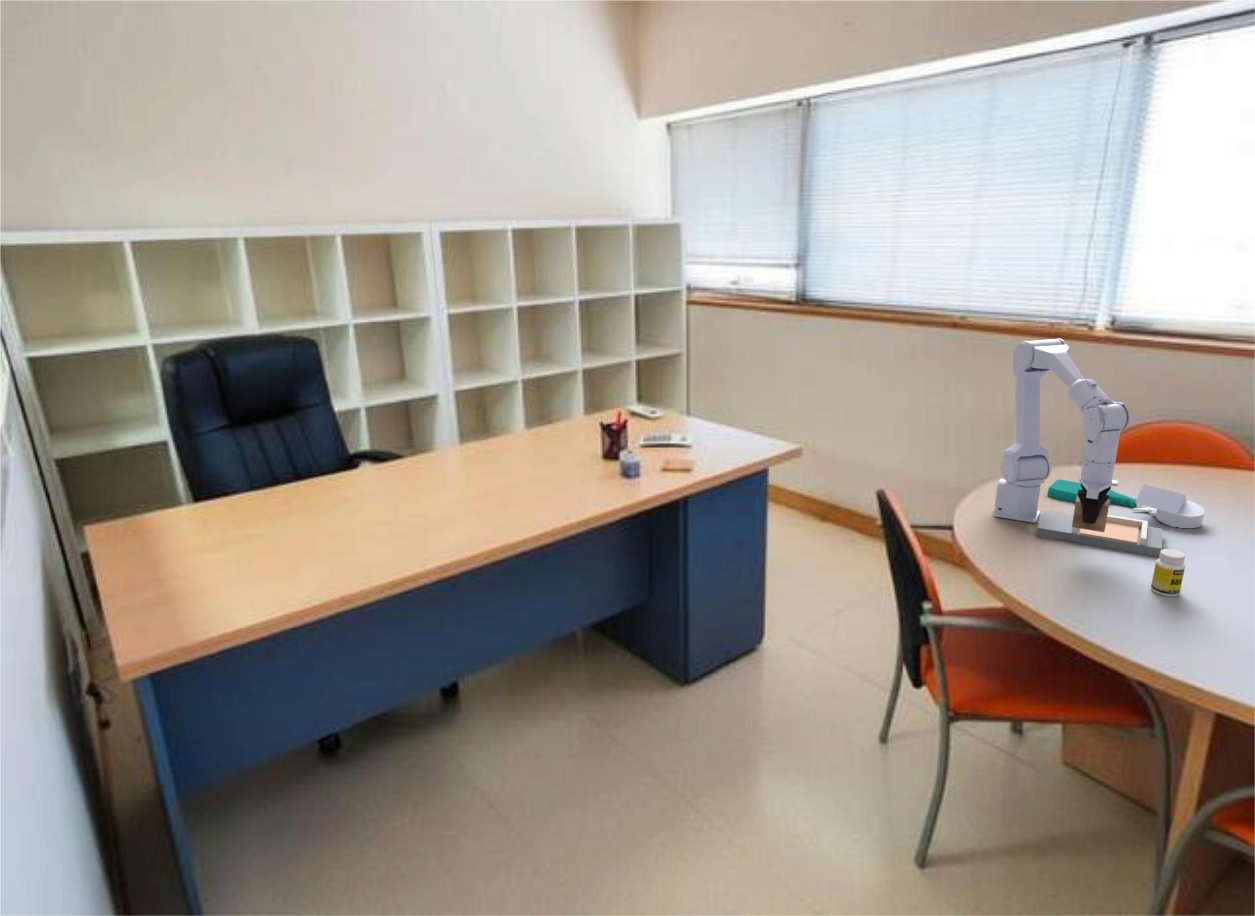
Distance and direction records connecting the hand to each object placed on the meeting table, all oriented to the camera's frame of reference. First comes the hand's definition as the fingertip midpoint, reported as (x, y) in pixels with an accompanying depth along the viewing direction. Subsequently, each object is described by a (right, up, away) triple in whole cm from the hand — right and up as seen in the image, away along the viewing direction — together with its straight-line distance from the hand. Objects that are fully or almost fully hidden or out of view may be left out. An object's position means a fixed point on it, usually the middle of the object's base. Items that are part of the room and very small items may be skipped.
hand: (1089, 518), depth 161 cm
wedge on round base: (+30, -1, +18) cm, 35 cm away
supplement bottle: (+7, -14, -13) cm, 20 cm away
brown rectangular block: (0, -2, +1) cm, 2 cm away
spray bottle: (+23, +1, +31) cm, 38 cm away
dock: (+9, -5, +12) cm, 16 cm away
